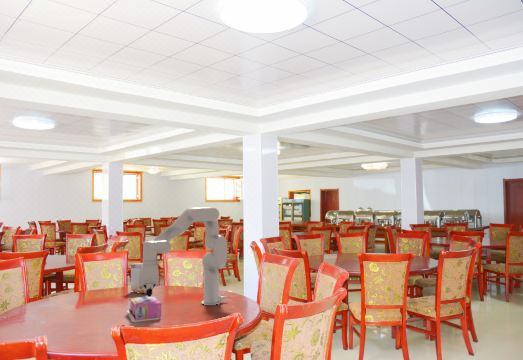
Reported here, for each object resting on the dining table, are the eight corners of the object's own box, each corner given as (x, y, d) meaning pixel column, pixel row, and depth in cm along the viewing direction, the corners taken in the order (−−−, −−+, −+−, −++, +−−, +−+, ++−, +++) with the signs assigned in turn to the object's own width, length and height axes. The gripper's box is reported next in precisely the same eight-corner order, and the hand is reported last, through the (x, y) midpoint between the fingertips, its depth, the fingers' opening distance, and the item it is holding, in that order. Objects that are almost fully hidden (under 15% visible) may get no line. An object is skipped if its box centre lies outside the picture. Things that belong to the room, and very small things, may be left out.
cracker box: (150, 292, 300) (150, 263, 301) (143, 294, 295) (144, 264, 296) (136, 291, 307) (137, 262, 309) (130, 292, 302) (130, 263, 304)
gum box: (152, 308, 247) (128, 311, 241) (152, 294, 247) (128, 297, 241) (161, 317, 225) (135, 320, 219) (161, 302, 226) (135, 305, 220)
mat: (151, 309, 247) (151, 308, 247) (159, 319, 224) (159, 318, 224) (126, 311, 242) (126, 310, 242) (132, 322, 218) (132, 321, 218)
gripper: (161, 261, 243) (161, 293, 241) (135, 263, 237) (134, 296, 235) (164, 263, 236) (164, 296, 235) (136, 264, 230) (136, 298, 229)
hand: (149, 296), depth 235 cm, fingers closed
